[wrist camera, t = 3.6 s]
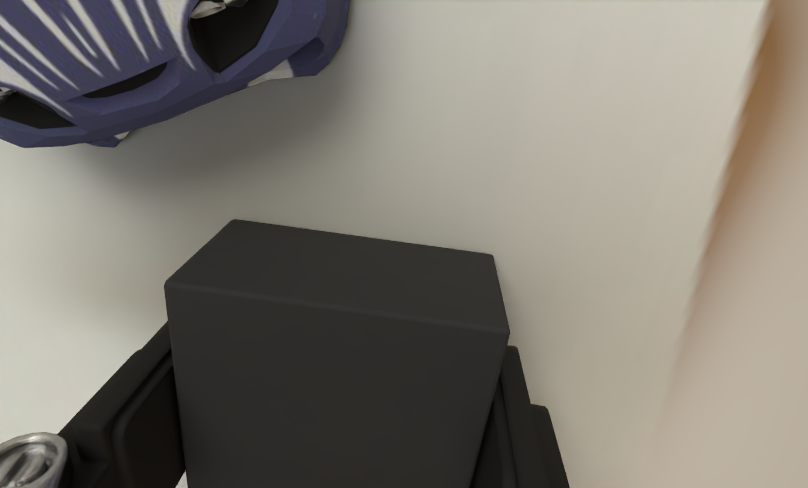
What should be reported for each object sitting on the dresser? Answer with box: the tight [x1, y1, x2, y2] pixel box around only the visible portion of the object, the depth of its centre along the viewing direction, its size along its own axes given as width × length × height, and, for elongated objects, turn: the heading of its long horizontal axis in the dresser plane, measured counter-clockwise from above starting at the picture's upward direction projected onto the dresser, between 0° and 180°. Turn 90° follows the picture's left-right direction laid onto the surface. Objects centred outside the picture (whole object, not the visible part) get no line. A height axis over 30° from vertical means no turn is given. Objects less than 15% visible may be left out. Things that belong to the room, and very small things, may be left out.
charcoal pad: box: [164, 219, 510, 488], centre depth 11 cm, size 6×7×3 cm
